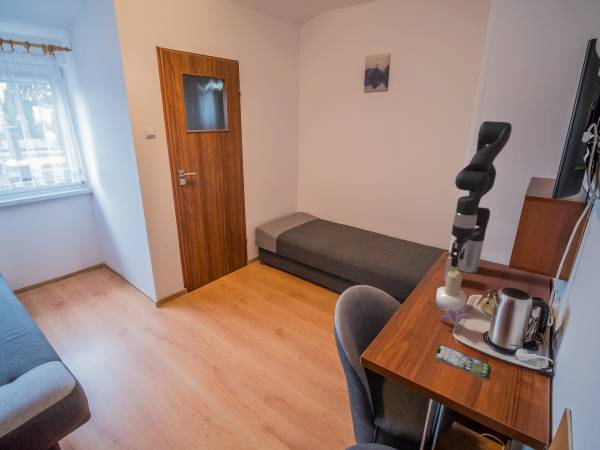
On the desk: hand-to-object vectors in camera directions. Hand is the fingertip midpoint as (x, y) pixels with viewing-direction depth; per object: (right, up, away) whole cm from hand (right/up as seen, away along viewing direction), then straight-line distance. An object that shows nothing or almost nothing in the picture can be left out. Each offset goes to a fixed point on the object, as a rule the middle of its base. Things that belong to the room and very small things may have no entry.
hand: (457, 262), depth 120 cm
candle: (0, -14, +5) cm, 14 cm away
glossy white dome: (0, -19, +7) cm, 20 cm away
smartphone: (-10, -30, -22) cm, 39 cm away
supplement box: (+11, -12, +27) cm, 31 cm away
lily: (-5, -24, -7) cm, 26 cm away
